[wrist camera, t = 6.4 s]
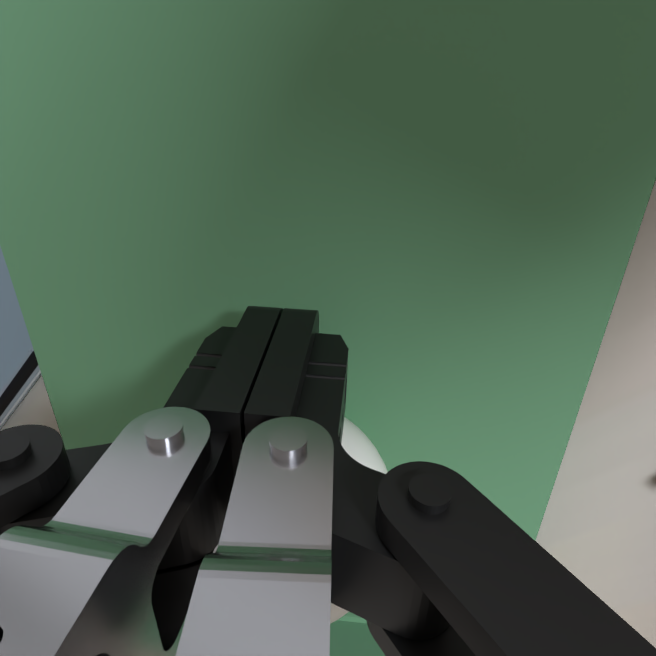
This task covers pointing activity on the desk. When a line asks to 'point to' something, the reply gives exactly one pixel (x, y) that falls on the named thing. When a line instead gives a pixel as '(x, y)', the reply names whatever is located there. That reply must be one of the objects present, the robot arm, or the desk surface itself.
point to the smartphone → (13, 349)
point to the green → (333, 208)
